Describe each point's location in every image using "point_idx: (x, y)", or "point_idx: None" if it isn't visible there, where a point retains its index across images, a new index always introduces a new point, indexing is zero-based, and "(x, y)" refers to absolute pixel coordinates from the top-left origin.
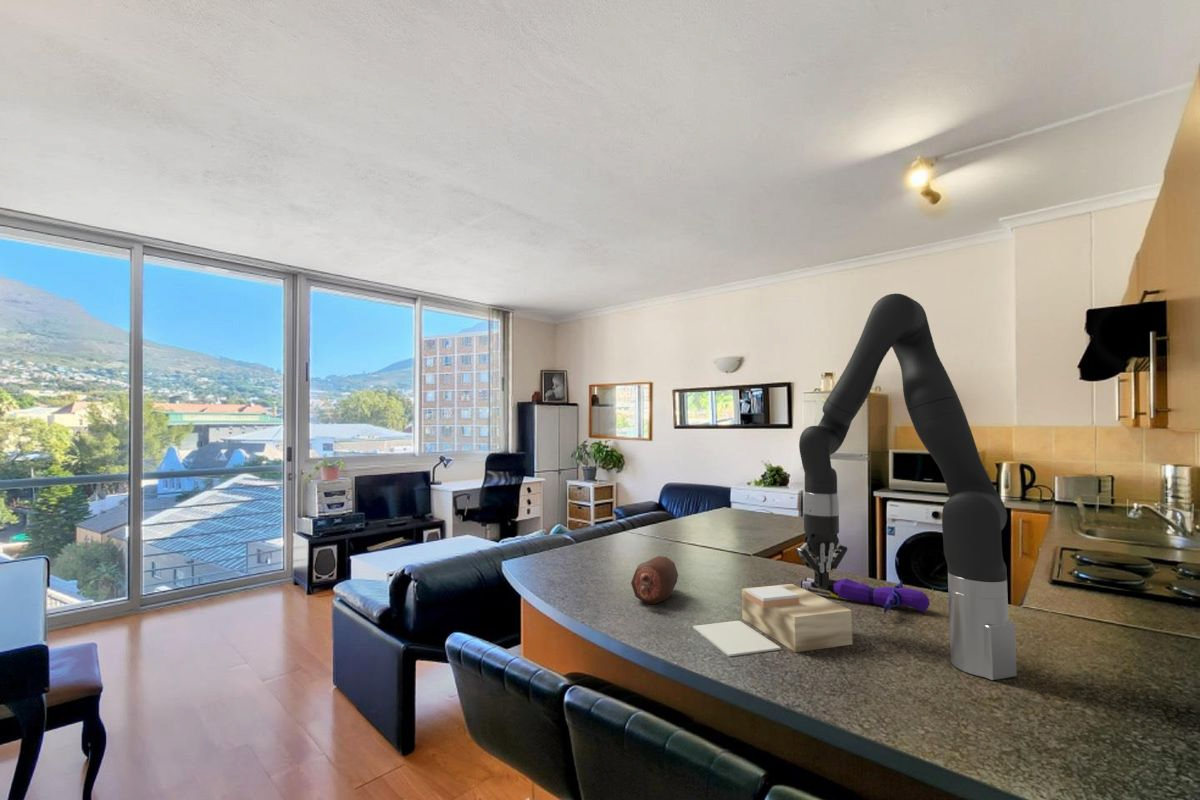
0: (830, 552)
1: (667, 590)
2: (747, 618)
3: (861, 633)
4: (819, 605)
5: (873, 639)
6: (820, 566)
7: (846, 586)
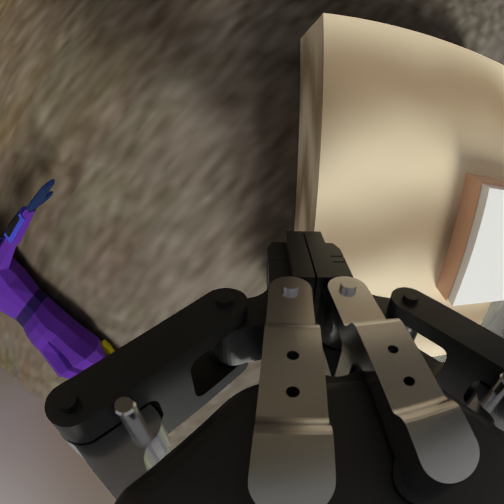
0: (300, 396)
1: None
2: None
3: (198, 104)
4: (413, 123)
5: (198, 52)
6: (372, 305)
7: (76, 349)
